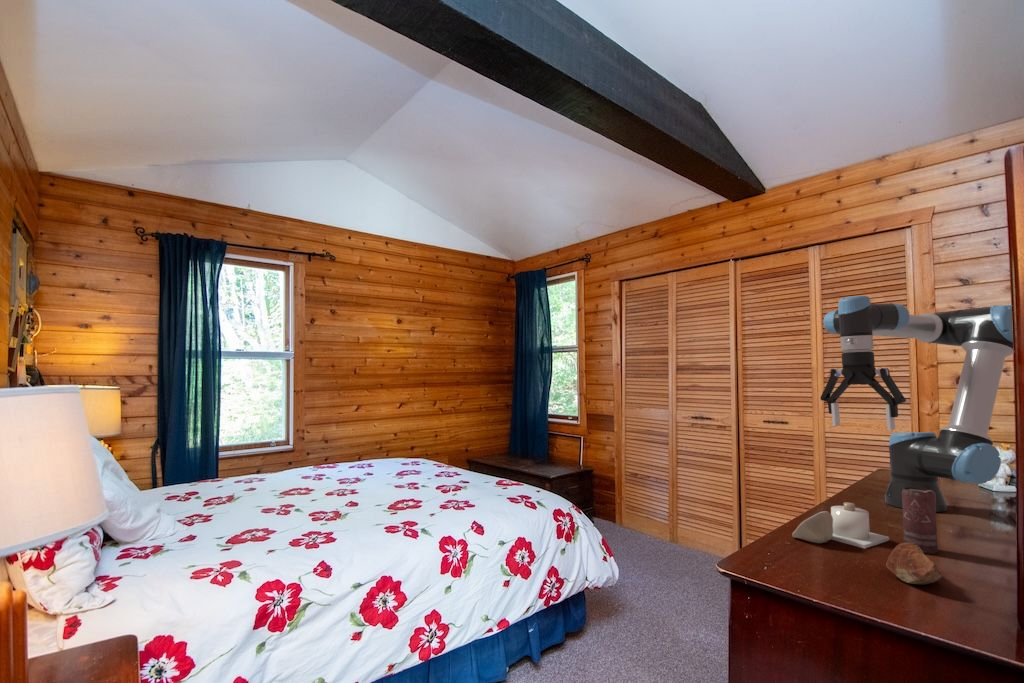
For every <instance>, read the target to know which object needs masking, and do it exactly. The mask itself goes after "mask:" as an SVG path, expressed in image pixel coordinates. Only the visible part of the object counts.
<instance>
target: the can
mask: <svg viewBox="0 0 1024 683" xmlns="http://www.w3.org/2000/svg"><path fill="white" fill-rule="evenodd" d="M902 506H903V508H902V521H903V522H902V524H903V525H902V526H903V527H902V528H903V543H906V542H908V543H915V544H917V545H918V546H919V547H920V548H921V550H922V551H923V552H924V554H925V555H934V554H936V553H937V552H938V551H939V548H938V545H939V544H938V528H937V526H938V523H937V512H936V495H935V492H934V491H932V490H927V489H921V488H911V487H907V488H904V489H903V491H902Z"/></svg>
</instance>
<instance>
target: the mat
mask: <svg viewBox="0 0 1024 683" xmlns="http://www.w3.org/2000/svg"><path fill="white" fill-rule="evenodd" d="M869 534H870V538H868V539H851V538H846V537H842V536H838V535H836V534H834V533H833V535H832V538H831V539H830V540H832V541H836V542H839V543H842V544H847V545H851V546H854V547H857V548H860V549H867V548H870V547H874V546H877V545H880V544H883V543H886V542H888V541H890V536H887V535H883V534H878V533H874V532H870V531H869Z"/></svg>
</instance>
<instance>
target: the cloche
mask: <svg viewBox="0 0 1024 683" xmlns="http://www.w3.org/2000/svg"><path fill="white" fill-rule="evenodd" d="M830 514H831V515H832V517H833V533H834V534H836V535H838V536H842V537H846V538H851V539H868V538H870V534H869V532H870V512H869V511H868V510H865V509H862V508H861V507H856V503H854V502H848V501H847V502H846V501H845V502H843V505H832V506H831V507H830Z"/></svg>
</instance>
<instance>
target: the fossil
mask: <svg viewBox="0 0 1024 683" xmlns="http://www.w3.org/2000/svg"><path fill="white" fill-rule="evenodd" d="M885 566H886V569H888V570H890V572H891V574H893V575H895V577H897V578H898V579H899V580H901V581H902V582H904V583H907V584H911V585H930V584H933V583H935V582H938V581H940V580H941V579H942V578H943V574H942V573H941V572H940V571H939V569H938V566H937V565H936V564H935V563H934V562H933V561H932V560H931V559H930V558H929V557H928V556H927V554H924V552H923V551H922V550H921V548H920V547H919V546H918V545H917V544H915V543H908V542H906V543H904V542H900V543H898V544H897V545H896V546H895V547H894V548H893V549H892V551H891V552H890V554H889V555H888V558H887V560H886V564H885Z"/></svg>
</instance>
